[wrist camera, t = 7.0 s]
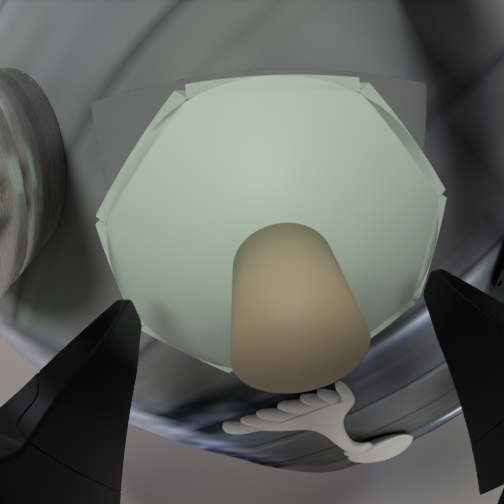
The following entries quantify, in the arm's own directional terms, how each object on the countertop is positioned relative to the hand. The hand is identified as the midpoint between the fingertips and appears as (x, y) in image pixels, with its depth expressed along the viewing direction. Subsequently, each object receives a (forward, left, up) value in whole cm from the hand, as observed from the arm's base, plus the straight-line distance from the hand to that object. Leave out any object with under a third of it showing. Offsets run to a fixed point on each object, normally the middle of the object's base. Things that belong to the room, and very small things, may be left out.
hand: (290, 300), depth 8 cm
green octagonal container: (0, 0, -4) cm, 4 cm away
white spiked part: (-8, +24, -5) cm, 26 cm away
